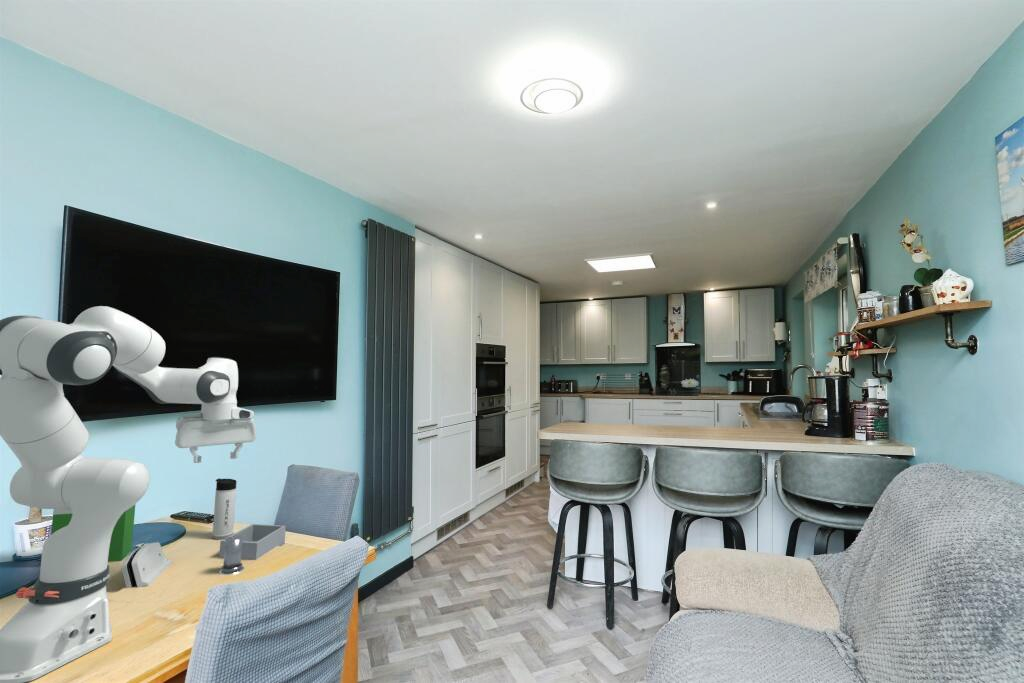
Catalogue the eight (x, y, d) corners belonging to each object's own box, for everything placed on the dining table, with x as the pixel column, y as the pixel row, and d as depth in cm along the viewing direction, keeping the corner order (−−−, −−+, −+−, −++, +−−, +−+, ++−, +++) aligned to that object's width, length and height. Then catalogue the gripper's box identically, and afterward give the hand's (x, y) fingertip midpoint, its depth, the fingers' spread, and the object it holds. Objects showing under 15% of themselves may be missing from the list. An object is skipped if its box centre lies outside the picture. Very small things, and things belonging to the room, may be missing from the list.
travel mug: (216, 533, 171) (220, 477, 172) (236, 533, 172) (240, 477, 173) (207, 539, 165) (212, 481, 166) (227, 539, 165) (232, 481, 167)
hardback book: (47, 566, 139) (56, 483, 141) (61, 557, 146) (69, 477, 148) (121, 560, 145) (128, 480, 147) (131, 551, 152) (137, 475, 154)
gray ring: (235, 579, 136) (235, 575, 136) (213, 577, 136) (213, 574, 136) (248, 569, 142) (249, 566, 142) (228, 568, 142) (228, 565, 142)
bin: (255, 563, 147) (257, 543, 147) (218, 560, 148) (220, 541, 148) (284, 543, 164) (285, 525, 164) (251, 541, 164) (252, 523, 165)
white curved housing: (149, 590, 127) (137, 555, 127) (129, 598, 126) (116, 562, 125) (173, 565, 143) (163, 534, 143) (155, 572, 142) (145, 540, 141)
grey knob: (234, 574, 136) (237, 542, 137) (217, 573, 137) (219, 541, 137) (245, 567, 141) (247, 536, 142) (228, 565, 142) (231, 535, 142)
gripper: (179, 415, 130) (176, 467, 129) (259, 412, 145) (256, 457, 144) (173, 413, 134) (170, 463, 133) (251, 410, 149) (249, 454, 149)
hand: (215, 460), depth 139 cm, fingers open, 8 cm apart
